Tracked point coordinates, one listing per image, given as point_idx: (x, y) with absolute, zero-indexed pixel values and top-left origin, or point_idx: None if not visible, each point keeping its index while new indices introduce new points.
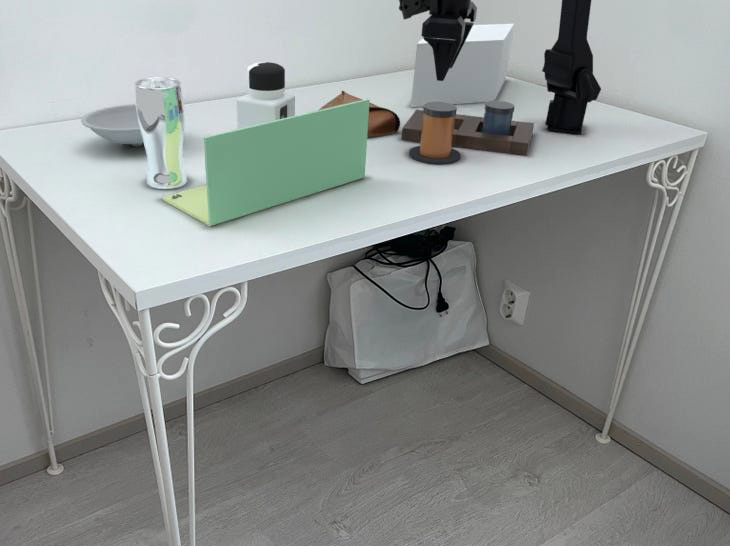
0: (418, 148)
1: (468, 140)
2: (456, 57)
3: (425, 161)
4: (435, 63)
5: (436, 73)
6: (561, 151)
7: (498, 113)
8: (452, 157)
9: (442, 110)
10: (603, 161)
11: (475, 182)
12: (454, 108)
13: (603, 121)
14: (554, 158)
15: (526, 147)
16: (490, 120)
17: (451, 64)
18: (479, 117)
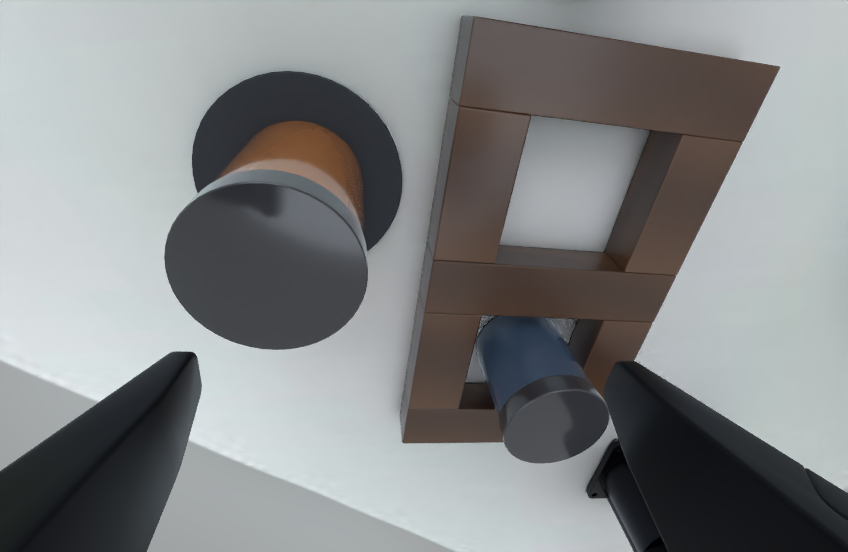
0: (336, 112)
1: (423, 293)
2: (636, 476)
3: (193, 154)
4: (17, 465)
5: (127, 386)
6: (457, 469)
7: (500, 417)
8: None
9: (190, 293)
10: (409, 526)
11: (94, 322)
12: (265, 340)
13: None
14: (399, 461)
15: (401, 430)
16: (504, 377)
17: (617, 407)
18: (648, 315)
